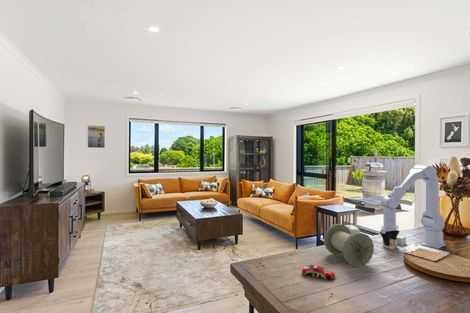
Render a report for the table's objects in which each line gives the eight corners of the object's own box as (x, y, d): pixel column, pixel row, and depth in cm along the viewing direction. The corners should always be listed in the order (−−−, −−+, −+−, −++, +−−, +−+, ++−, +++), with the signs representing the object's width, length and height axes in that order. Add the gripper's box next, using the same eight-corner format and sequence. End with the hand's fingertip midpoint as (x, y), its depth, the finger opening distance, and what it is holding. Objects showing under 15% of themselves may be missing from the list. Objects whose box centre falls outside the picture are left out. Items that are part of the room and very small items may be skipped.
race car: (335, 276, 110) (335, 267, 110) (334, 282, 106) (334, 272, 105) (303, 270, 116) (303, 261, 116) (301, 276, 111) (301, 266, 111)
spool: (324, 254, 133) (323, 225, 133) (349, 251, 137) (349, 222, 137) (345, 268, 117) (345, 234, 117) (373, 264, 121) (373, 232, 121)
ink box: (343, 246, 145) (343, 224, 145) (353, 246, 145) (353, 224, 145) (350, 252, 136) (350, 229, 136) (360, 251, 136) (360, 229, 136)
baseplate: (413, 245, 145) (413, 242, 145) (449, 254, 131) (449, 251, 131) (398, 251, 136) (398, 249, 136) (435, 262, 122) (435, 259, 122)
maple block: (387, 245, 146) (387, 237, 146) (396, 247, 142) (396, 240, 142) (382, 246, 143) (382, 239, 143) (392, 249, 139) (392, 242, 139)
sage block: (396, 241, 151) (396, 234, 151) (406, 244, 147) (405, 236, 147) (391, 243, 149) (391, 236, 149) (401, 245, 145) (401, 238, 144)
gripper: (388, 215, 150) (389, 239, 150) (374, 219, 142) (375, 244, 142) (402, 218, 144) (402, 243, 144) (388, 222, 136) (388, 248, 136)
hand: (389, 244), depth 143 cm, fingers open, 5 cm apart
